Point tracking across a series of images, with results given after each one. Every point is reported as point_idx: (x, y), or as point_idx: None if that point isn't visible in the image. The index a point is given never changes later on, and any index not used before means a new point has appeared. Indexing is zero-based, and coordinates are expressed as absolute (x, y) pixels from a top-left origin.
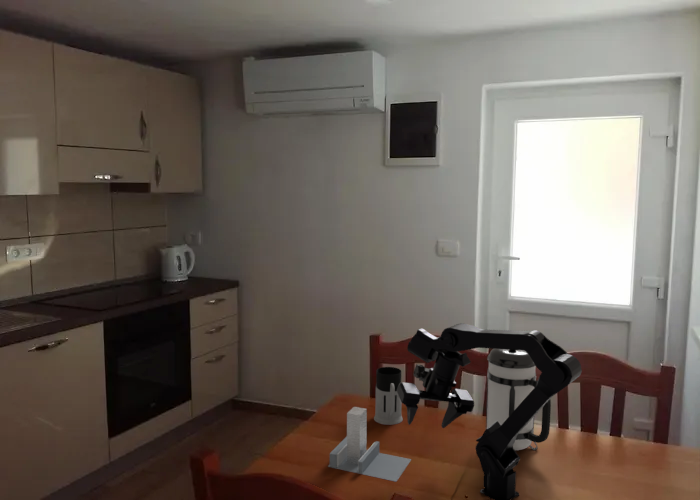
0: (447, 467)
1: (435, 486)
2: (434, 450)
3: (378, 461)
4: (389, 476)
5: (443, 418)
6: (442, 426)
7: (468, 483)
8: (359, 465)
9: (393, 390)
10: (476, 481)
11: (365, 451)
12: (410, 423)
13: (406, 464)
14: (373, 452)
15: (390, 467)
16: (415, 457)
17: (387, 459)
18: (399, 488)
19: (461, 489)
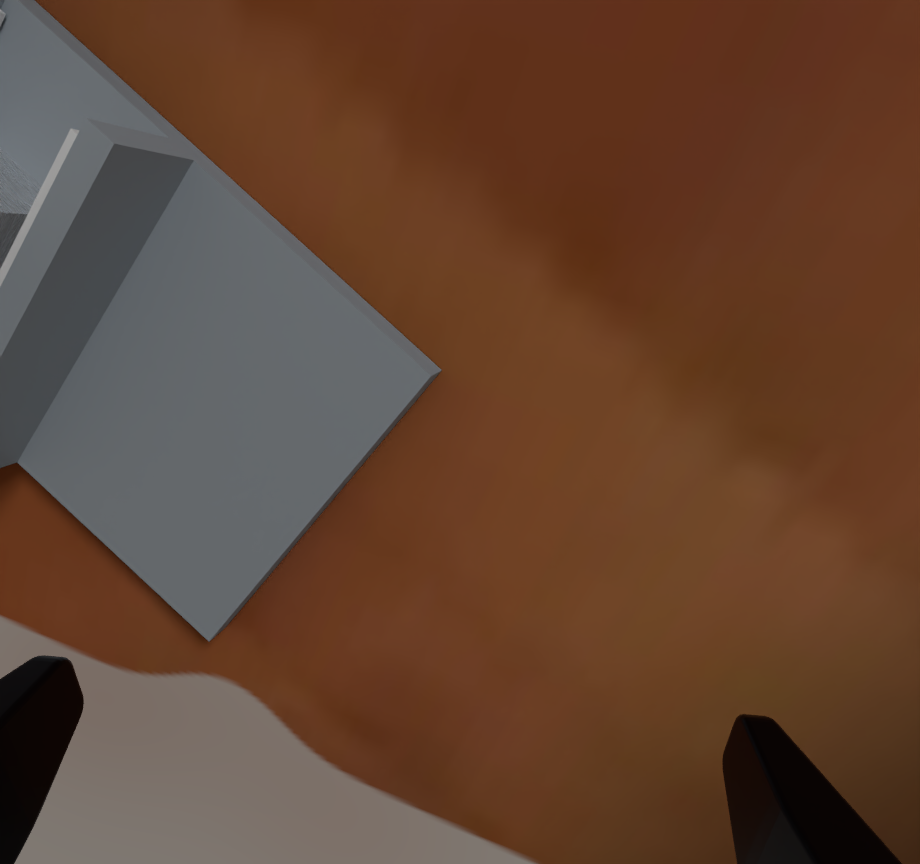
0: (721, 550)
1: (475, 742)
2: (795, 184)
3: (154, 321)
4: (182, 562)
5: (803, 857)
6: (729, 766)
7: None
8: None
9: None
10: None
11: (13, 231)
12: (58, 749)
13: (354, 449)
14: (67, 286)
15: (220, 447)
16: (521, 278)
17: (230, 310)
18: (237, 661)
19: (638, 851)
